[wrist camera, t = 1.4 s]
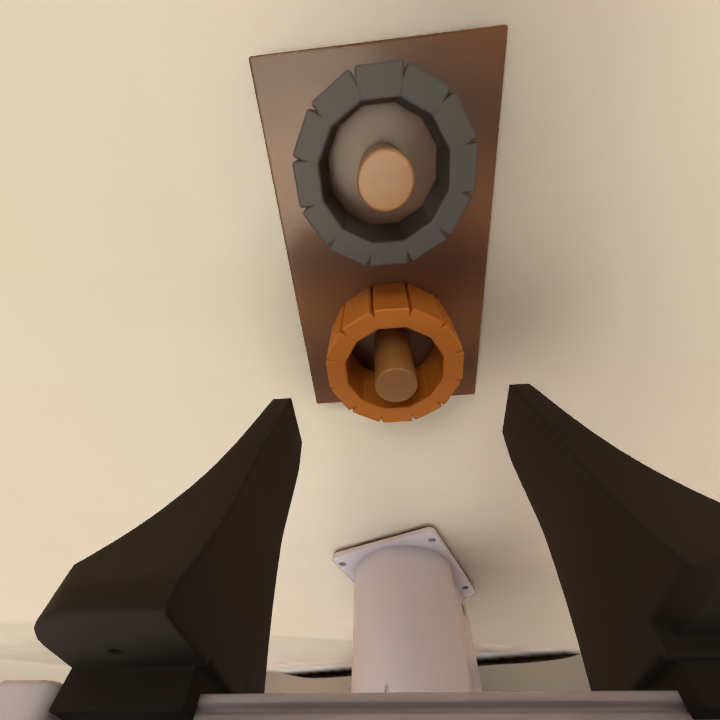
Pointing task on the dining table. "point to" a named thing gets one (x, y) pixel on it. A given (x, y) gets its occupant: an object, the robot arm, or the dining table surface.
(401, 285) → the amber tape
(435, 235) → the ring
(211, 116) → the dining table surface
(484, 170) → the rack
